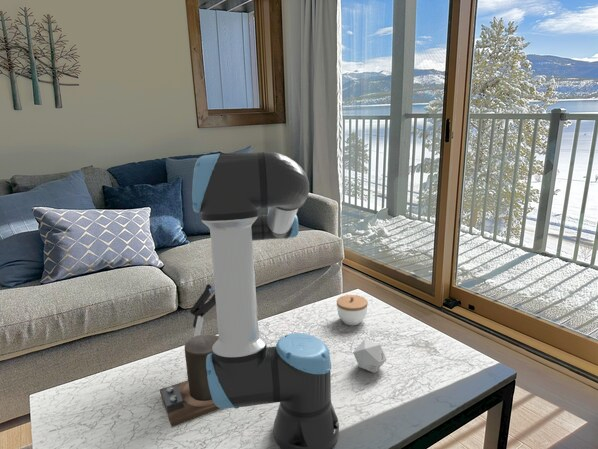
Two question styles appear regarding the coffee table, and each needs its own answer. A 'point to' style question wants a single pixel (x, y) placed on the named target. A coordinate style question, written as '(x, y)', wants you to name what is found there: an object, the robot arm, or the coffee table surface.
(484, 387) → the coffee table surface
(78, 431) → the coffee table surface
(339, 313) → the lidded jar
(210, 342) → the pillar candle
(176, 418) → the board
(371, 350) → the die
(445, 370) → the coffee table surface
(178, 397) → the dark grey studded block
